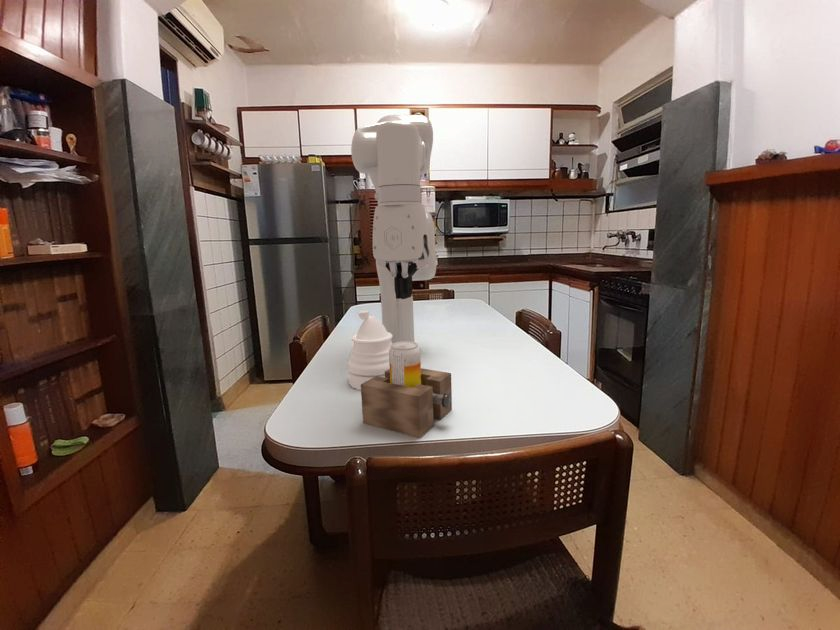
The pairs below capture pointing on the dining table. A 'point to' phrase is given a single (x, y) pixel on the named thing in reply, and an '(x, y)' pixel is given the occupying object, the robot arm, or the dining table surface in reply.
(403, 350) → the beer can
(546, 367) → the dining table surface
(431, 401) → the brown wooden clamp block
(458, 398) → the dining table surface
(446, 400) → the plunger
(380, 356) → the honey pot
